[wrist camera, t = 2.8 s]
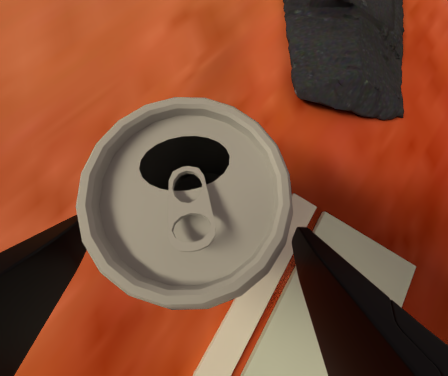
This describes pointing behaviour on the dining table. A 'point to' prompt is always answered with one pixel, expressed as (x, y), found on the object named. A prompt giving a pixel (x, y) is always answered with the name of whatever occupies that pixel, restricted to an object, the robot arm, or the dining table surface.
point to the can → (185, 203)
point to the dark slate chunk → (347, 54)
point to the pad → (298, 312)
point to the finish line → (250, 306)
